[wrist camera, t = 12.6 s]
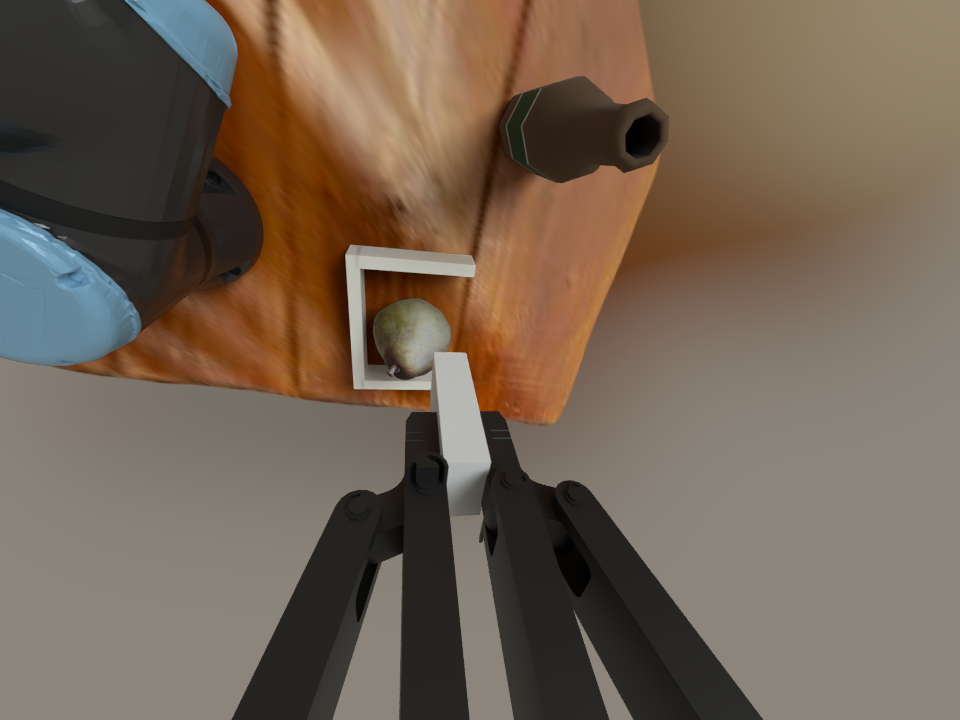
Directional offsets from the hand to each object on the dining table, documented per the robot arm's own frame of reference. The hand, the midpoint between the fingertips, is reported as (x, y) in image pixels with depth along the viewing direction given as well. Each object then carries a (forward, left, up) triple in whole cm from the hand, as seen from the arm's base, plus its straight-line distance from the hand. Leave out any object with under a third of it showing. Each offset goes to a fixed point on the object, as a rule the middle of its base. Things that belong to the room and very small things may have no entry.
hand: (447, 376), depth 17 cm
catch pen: (-1, -13, -32) cm, 35 cm away
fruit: (-1, -13, -33) cm, 35 cm away
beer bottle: (+11, +11, -33) cm, 36 cm away
